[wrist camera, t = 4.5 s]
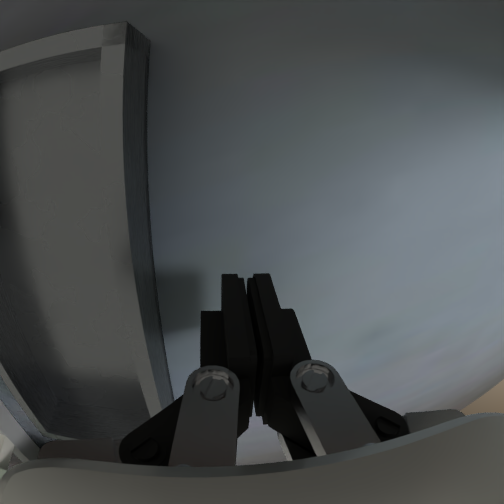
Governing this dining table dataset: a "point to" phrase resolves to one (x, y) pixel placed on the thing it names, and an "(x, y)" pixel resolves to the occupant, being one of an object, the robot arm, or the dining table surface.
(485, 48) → the dining table surface
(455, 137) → the dining table surface
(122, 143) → the baking tray
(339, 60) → the dining table surface
